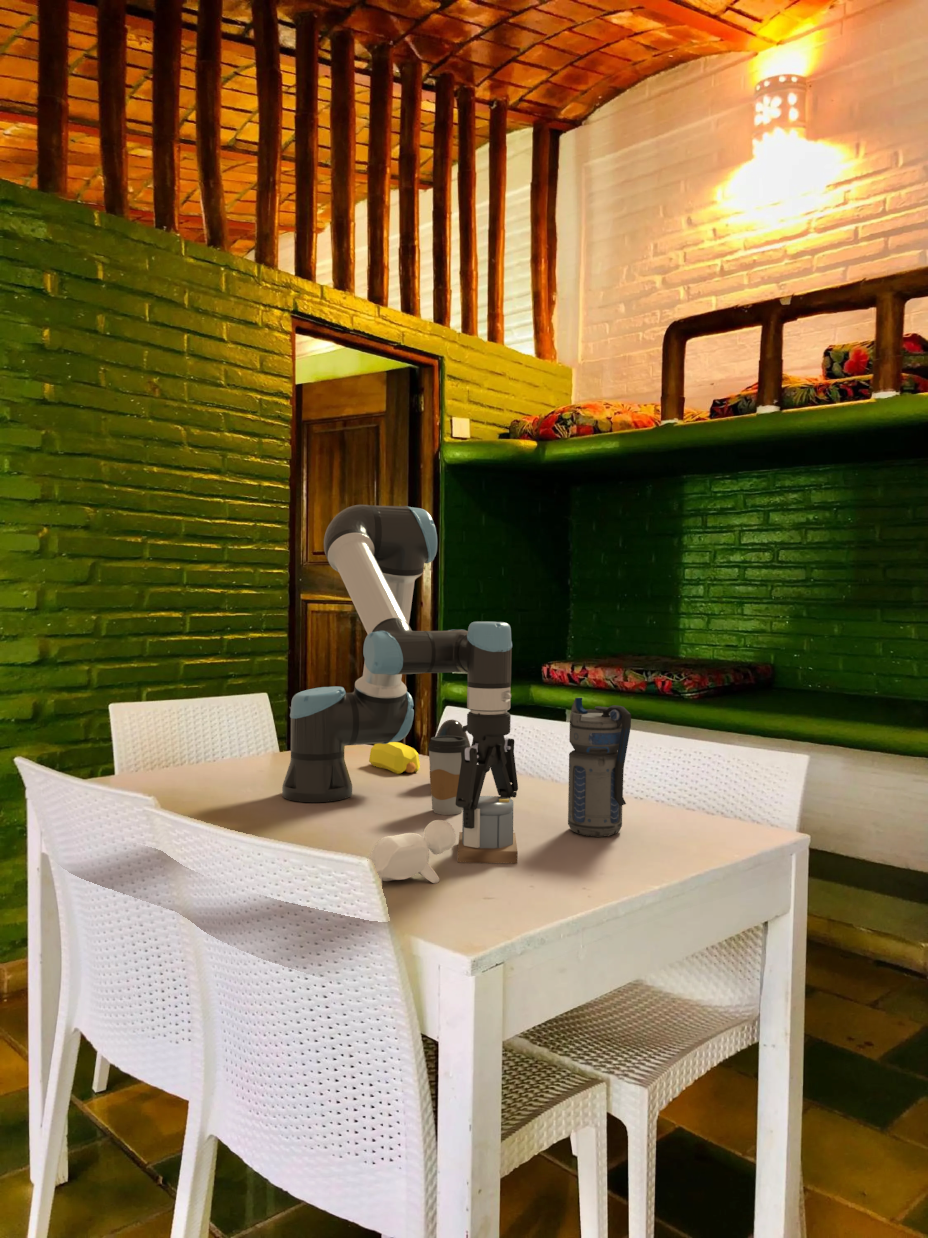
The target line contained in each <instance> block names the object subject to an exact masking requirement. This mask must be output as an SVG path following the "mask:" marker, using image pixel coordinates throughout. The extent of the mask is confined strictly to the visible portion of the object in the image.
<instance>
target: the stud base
mask: <svg viewBox="0 0 928 1238" xmlns="http://www.w3.org/2000/svg"><path fill="white" fill-rule="evenodd" d="M457 863H464V864H465V863H467V864H468V863H474V864H477V863H478V864H487V863H488V864H518V843H517V836H516V832H513V844H512V845H510V846H506V847H502V848H474V847H469V846H464V844H462V831H460V832H459V834H458V845H457Z"/></svg>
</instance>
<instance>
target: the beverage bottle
mask: <svg viewBox="0 0 928 1238" xmlns="http://www.w3.org/2000/svg"><path fill="white" fill-rule="evenodd" d="M570 711H571V712H570V716H569V743H570V745H571V746H572V748H573V750H571V751H570V752H569V753H568V754H569V755H568V793H567V794H568V797H567V798H568V800H567V801H568V802H567V803H568V804H567V807H568V809H567V813H568V814H567V825H568V827H569V829H570V830H571V831H572V832H573V833H576V834H579V835H581V834H582V836H585V835H587V837H594V836H603V837H609V836H608V835H610V836H612V834H613V835H616V834H618V833H619V832H620V830H621V829H622V826H623V806H624V805H627V803H626V800H625V799H624V773H625V772H624V770H625V761H626V758H627V757H626V756H627V752H628V751H627V750H628V745H629V741H630V740H629V739H630V733H631V727H632V713H630V712H629V711H628V709H626V708H625V706H621V705H610V706H609V707H607V706H600V705H599V706H595V707H594V709H590V708H589V709H585V708H584V706H583V697H575V698H574V701H573V703H572V705H571V710H570Z"/></svg>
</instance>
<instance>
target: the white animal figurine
mask: <svg viewBox="0 0 928 1238" xmlns="http://www.w3.org/2000/svg"><path fill="white" fill-rule="evenodd" d="M456 842H457V834H456V832H455V829H454V827H453V825H452V824H451V823H450V822H449V821H446V820H442V819H436V820H432V821H430V822H429V823H428V824H427V825H426V826H425V828H424V829H423V836H422V835H420V834H419V833H416V832H415V833H414V832H407V833H401V834H396V835H389V836H383V837H382V838H380V839H379V840H378V841H377V842H376V843H375V845H374V846H373V848H372V850H371V853H370V854H369V856H368V858H369V859H371V860H372V862H373V863H374V865H375V868H376V871H377V873H378V875H379V878H380V879H381V883H382V884H383V881H384V882H391V881H401V880H407V879H410V878H411V877H413V876H416V875H417V874H420V875H421V876H422V877H424V879H426V880H428V881H429V882H431V883H433V884H437V883H439V881H440V877H439V876H438V873H436V871H435V870H434V869H433V868H432V866H431V865H430V864H429V859H430V852H431V853H432V854H433V855H441V854H443V853H444V852H445V851H448V850H451V849H452V848H453V847H454V845H456ZM429 850H430V851H429Z"/></svg>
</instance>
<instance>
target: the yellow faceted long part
mask: <svg viewBox="0 0 928 1238" xmlns="http://www.w3.org/2000/svg"><path fill="white" fill-rule="evenodd" d="M419 755H420V754H419V753H418V752H417V750H416V749H415V748H414V747H411V746H409V745H406V744H405V743H402V742H400V741H397V742H389V743H387V744H381V743H379V744H373V746H371V748H370V752H369V760H368V762H369V763H370V764H371V765H372V766H373V767H375V766H376V768H379V769H386V770H388V771H390V772H392V773H394V774H397V775H400V774H402V773H403V772H405V773H408V774H410V773H417V772H418V771H419V770H420V767H421V761H420V756H419Z"/></svg>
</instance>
